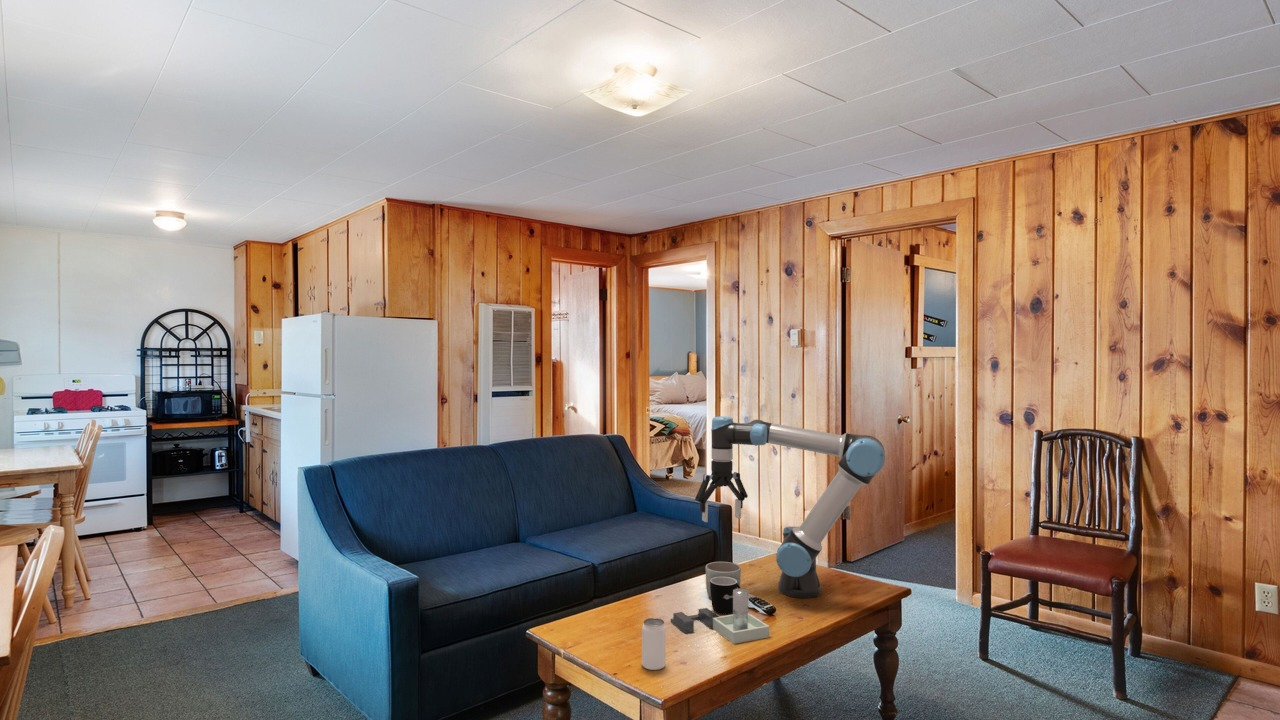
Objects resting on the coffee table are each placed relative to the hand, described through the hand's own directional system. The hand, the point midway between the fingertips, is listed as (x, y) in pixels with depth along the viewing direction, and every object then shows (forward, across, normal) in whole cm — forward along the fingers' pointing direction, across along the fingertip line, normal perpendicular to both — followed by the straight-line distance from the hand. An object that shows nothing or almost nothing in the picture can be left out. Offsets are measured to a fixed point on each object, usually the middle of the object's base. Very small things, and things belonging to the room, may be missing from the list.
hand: (721, 519), depth 245 cm
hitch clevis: (+27, +22, +22) cm, 41 cm away
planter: (+27, +1, +3) cm, 27 cm away
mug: (+27, +6, +14) cm, 31 cm away
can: (+27, +46, +42) cm, 68 cm away
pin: (+26, +12, +32) cm, 43 cm away
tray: (+27, +12, +32) cm, 43 cm away
